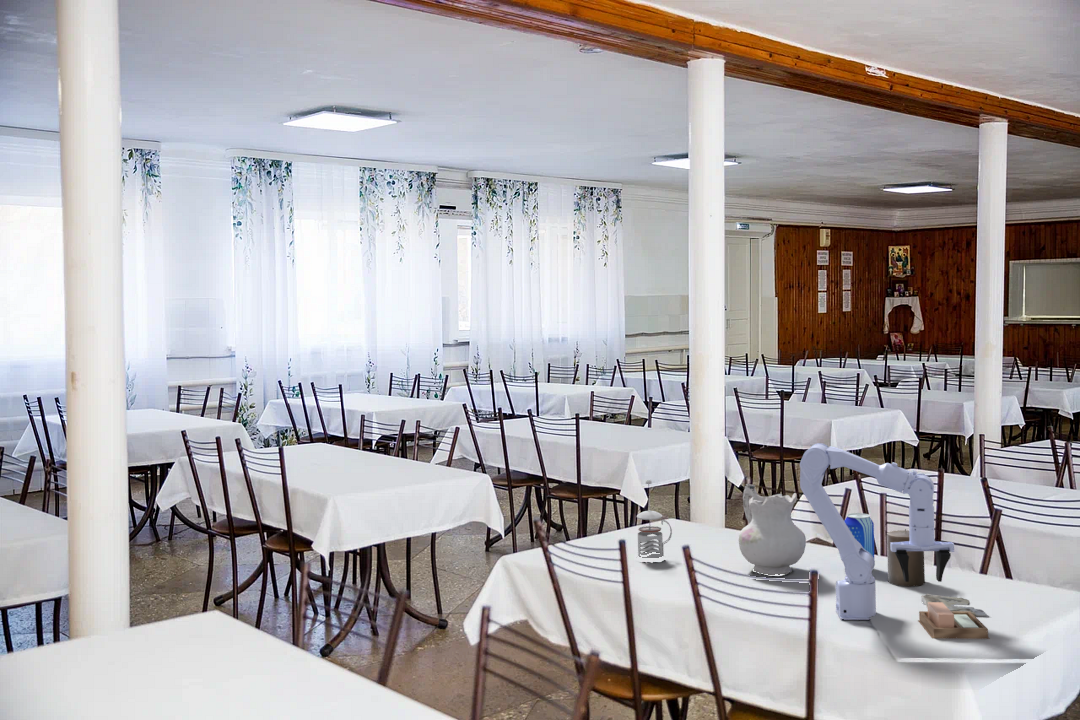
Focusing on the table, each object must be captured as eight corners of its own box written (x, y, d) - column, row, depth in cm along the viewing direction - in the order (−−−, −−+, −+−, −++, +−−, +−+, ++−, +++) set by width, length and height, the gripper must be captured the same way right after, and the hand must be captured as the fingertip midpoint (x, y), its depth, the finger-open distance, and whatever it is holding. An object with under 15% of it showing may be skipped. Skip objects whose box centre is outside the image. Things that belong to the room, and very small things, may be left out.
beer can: (880, 570, 298) (879, 516, 297) (857, 574, 295) (856, 519, 294) (861, 564, 306) (860, 511, 305) (838, 568, 303) (837, 514, 302)
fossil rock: (919, 601, 269) (918, 592, 268) (979, 602, 266) (979, 593, 266) (930, 620, 251) (930, 611, 251) (996, 622, 248) (996, 613, 248)
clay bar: (938, 636, 236) (938, 614, 236) (927, 622, 246) (927, 602, 245) (954, 636, 235) (954, 614, 235) (942, 623, 245) (942, 602, 245)
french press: (634, 556, 326) (631, 477, 325) (670, 555, 325) (668, 476, 324) (635, 563, 316) (633, 482, 315) (673, 562, 315) (671, 481, 314)
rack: (932, 641, 234) (931, 628, 234) (917, 623, 248) (917, 611, 248) (989, 642, 233) (989, 628, 233) (972, 623, 246) (972, 611, 246)
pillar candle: (930, 586, 280) (929, 531, 280) (894, 587, 280) (893, 532, 280) (916, 577, 290) (916, 524, 289) (882, 578, 290) (881, 525, 289)
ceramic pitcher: (720, 573, 305) (714, 491, 302) (760, 556, 317) (754, 477, 315) (781, 587, 288) (776, 500, 286) (820, 568, 301) (815, 485, 299)
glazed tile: (963, 635, 235) (963, 627, 235) (951, 622, 245) (951, 614, 245) (978, 636, 235) (978, 627, 235) (966, 622, 245) (966, 614, 245)
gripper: (894, 528, 246) (895, 584, 246) (957, 528, 244) (958, 585, 245) (888, 522, 253) (889, 577, 253) (949, 522, 251) (950, 577, 252)
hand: (922, 580), depth 249 cm, fingers open, 7 cm apart
